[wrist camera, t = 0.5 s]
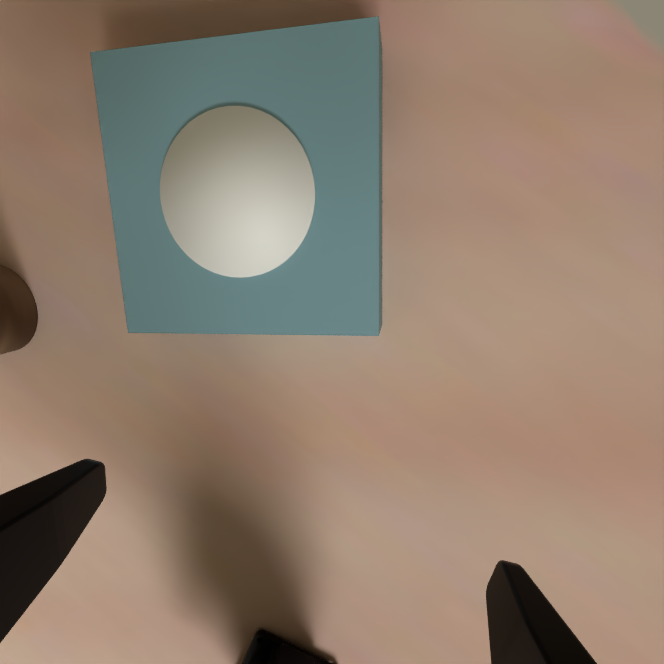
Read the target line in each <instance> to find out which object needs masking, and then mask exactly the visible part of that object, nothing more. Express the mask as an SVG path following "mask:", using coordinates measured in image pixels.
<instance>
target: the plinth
mask: <svg viewBox="0 0 664 664" xmlns="http://www.w3.org/2000/svg"><path fill="white" fill-rule="evenodd" d="M90 55H91V62H92V70H93V77H94V85H95V92H96V99H97V107H98V114H99V122H100V129H101V136H102V144H103V151H104V158H105V166H106V173H107V181H108V188H109V195H110V203H111V210H112V218H113V225H114V232H115V240H116V247H117V255H118V262H119V269H120V277H121V284H122V292H123V299H124V306H125V314H126V321H127V328H128V333H191V334H270V335H349V336H379V334H380V330H381V326H382V43H381V34H380V25H379V16H377V17H369V18H361V19H353V20H345V21H337V22H329V23H321V24H313V25H305V26H297V27H289V28H281V29H273V30H265V31H257V32H249V33H240V34H232V35H224V36H216V37H208V38H200V39H192V40H184V41H176V42H168V43H160V44H152V45H144V46H136V47H128V48H120V49H112V50H104V51H96V52H90Z"/></svg>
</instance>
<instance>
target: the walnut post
mask: <svg viewBox="0 0 664 664" xmlns="http://www.w3.org/2000/svg"><path fill="white" fill-rule="evenodd" d="M37 321H38V314H37V307H36V303H35V300H34V297H33V295H32V293H31V291H30V289H29V288H28V286H27V285H26V283H25V282H24V281H23V280H22V279H21V278H20V277H19V276H18V275H17V274H16V273H15V272H13V271H12V270H10V269H8V268H6V267H4V266H1V265H0V354H4V353H7V352H11V351H15V350H18V349H20V348H22V347H24V346H25V345H26V344H28V343H29V341H30V340H31V339H32V337H33V336H34V333H35V331H36V327H37Z"/></svg>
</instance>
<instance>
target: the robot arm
mask: <svg viewBox="0 0 664 664" xmlns="http://www.w3.org/2000/svg"><path fill="white" fill-rule="evenodd" d="M105 494H106V475H105V466H104V464H103V463H102V462H99V461H95V460H91V459H84V460H81V461H78V462H76V463H74V464H71V465H69V466H67V467H64V468H62V469H60V470H57V471H55V472H53V473H50V474H48V475H46V476H43V477H41V478H39V479H36V480H34V481H32V482H29V483H27V484H25V485H22V486H20V487H18V488H15V489H13V490H11V491H8V492H6V493H4V494H1V495H0V643H1V641H2V640H3V639H4V637H5V636H6V635H7V634H8V632H9V631H10V630H11V628H12V627H13V626H14V625H15V623H16V622H17V621H18V619H19V618H20V617H21V616H22V614H23V613H24V612H25V611H26V609H27V608H28V607H29V605H30V604H31V603H32V602H33V600H34V599H35V598H36V596H37V595H38V594H39V593H40V591H41V590H42V589H43V587H44V586H45V585H46V584H47V582H48V581H49V580H50V578H51V577H52V576H53V575H54V573H55V572H56V571H57V569H58V568H59V567H60V565H61V564H62V562H63V561H64V559H65V558H66V557H67V555H68V554H69V552H70V551H71V549H72V547H73V546H74V544H75V543H76V541H77V540H78V538H79V537H80V535H81V533H82V532H83V530H84V529H85V527H86V526H87V524H88V523H89V521H90V520H91V518H92V516H93V515H94V513H95V512H96V510H97V509H98V507H99V506H100V504H101V503H102V501H103V499H104V497H105ZM486 603H487V615H488V628H489V640H490V652H491V664H597V663H596V662H595V660H594V659H593V658H592V657H591V655H590V654H589V653H588V651H587V650H586V649H585V648H584V646H583V645H582V644H581V642H580V641H579V640H578V638H577V637H576V636H575V635H574V633H573V632H572V631H571V629H570V628H569V627H568V626H567V624H566V623H565V622H564V620H563V619H562V618H561V617H560V615H559V614H558V613H557V611H556V610H555V609H554V608H553V606H552V605H551V604H550V602H549V601H548V600H547V598H546V597H545V596H544V595H543V593H542V592H541V591H540V589H539V588H538V587H537V586H536V584H535V583H534V582H533V580H532V579H531V578H530V577H529V575H528V574H527V573H526V571H525V570H524V569H523V568H522V567H521V566H520V565H518V564H516V563H512V562H508V561H504V560H501V561H499V562H498V563H497V565H496V567H495V569H494V572H493V574H492V576H491V578H490V580H489V583H488V585H487V589H486ZM242 664H331V663H329V662H327V661H325V660H323V659H321V658H319V657H317V656H315V655H313V654H311V653H309V652H307V651H305V650H303V649H301V648H299V647H297V646H295V645H293V644H291V643H289V642H287V641H285V640H283V639H281V638H279V637H277V636H275V635H273V634H271V633H269V632H267V631H265V630H258V631H257V632H256V633H255V636H254V638H253V640H252V642H251V645H250V647H249V649H248V651H247V654H246V656H245V658H244V660H243V663H242Z"/></svg>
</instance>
